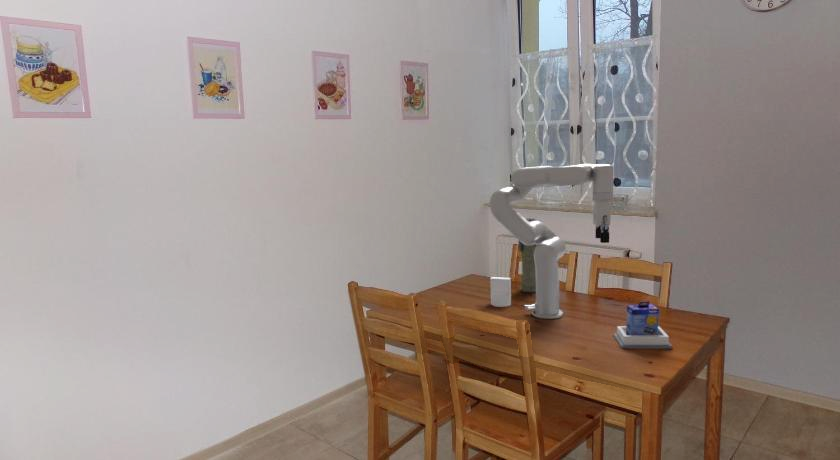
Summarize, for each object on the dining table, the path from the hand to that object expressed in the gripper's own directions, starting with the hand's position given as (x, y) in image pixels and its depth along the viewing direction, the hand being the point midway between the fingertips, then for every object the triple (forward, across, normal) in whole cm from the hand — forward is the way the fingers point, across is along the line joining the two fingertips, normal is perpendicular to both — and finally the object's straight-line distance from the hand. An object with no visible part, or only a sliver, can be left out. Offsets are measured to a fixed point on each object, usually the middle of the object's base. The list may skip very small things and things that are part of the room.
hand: (602, 240), depth 222 cm
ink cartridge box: (+32, +22, +10) cm, 40 cm away
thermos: (+34, -49, -24) cm, 64 cm away
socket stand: (+33, +22, +10) cm, 41 cm away
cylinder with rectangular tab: (+34, -26, -39) cm, 58 cm away
